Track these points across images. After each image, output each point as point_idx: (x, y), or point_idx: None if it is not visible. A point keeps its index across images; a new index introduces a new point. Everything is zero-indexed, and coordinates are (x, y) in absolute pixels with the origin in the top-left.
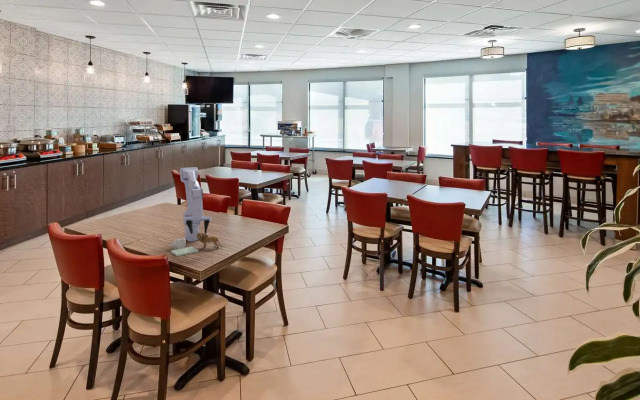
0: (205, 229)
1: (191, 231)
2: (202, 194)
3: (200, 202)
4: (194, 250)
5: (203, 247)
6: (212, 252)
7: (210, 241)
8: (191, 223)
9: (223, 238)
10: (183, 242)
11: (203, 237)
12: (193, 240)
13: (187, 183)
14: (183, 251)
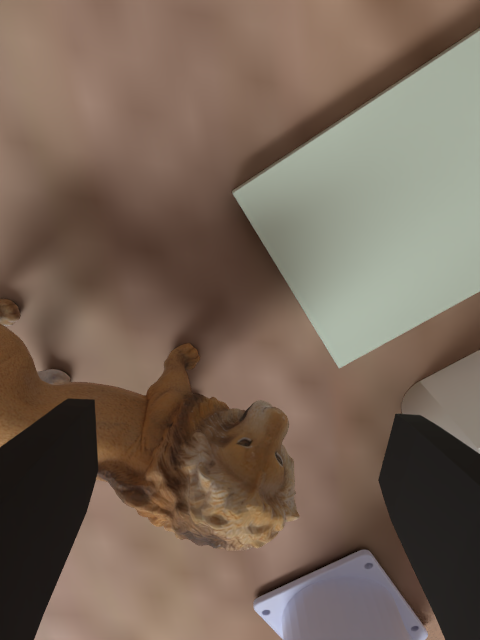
0: (6, 460)
1: (435, 443)
2: None
3: None
4: (287, 186)
5: (192, 348)
6: (25, 137)
7: (75, 384)
8: None
9: (46, 611)
10: (457, 416)
11: (173, 434)
12: (333, 567)
13: None
14: (438, 162)
